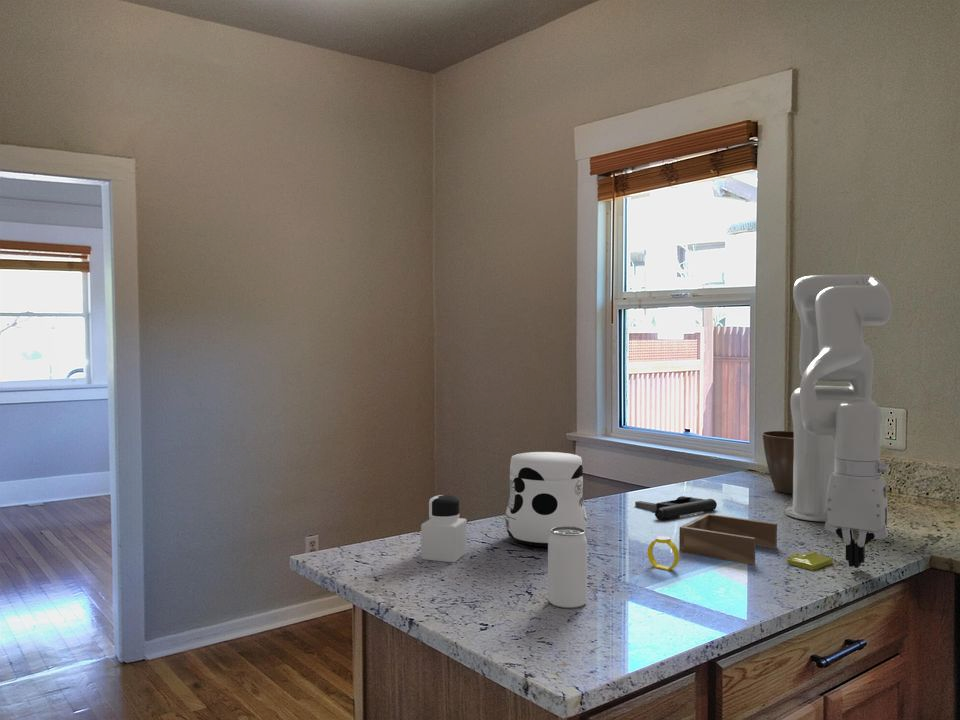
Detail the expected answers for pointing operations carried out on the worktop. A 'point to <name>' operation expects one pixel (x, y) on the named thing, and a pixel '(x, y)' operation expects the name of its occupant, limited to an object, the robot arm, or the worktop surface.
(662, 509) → the door handle
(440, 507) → the medicine bottle
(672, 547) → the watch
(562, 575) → the can
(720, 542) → the box
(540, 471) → the milk container
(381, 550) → the worktop surface
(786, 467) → the plant pot
